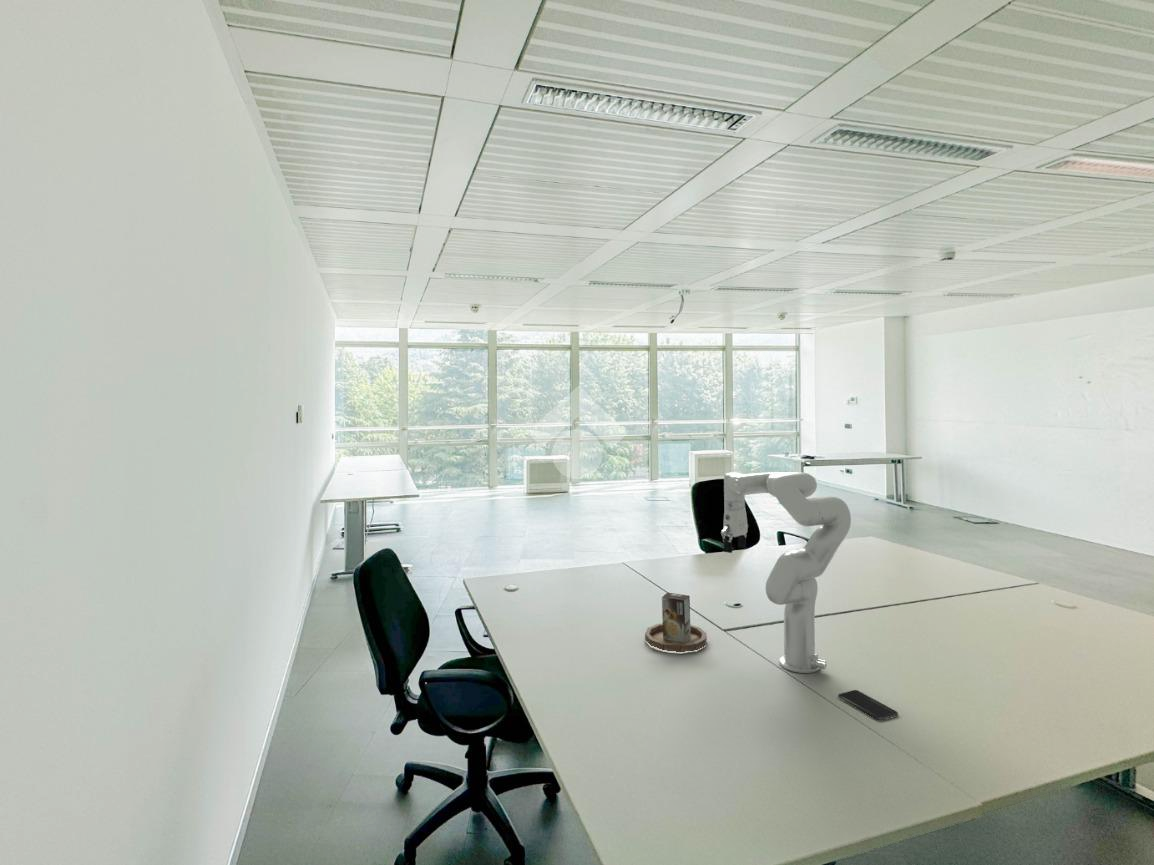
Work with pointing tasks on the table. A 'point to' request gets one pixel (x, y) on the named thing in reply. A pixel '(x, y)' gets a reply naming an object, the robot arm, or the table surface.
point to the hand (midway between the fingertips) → (735, 549)
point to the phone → (868, 705)
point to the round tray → (656, 639)
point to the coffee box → (676, 617)
